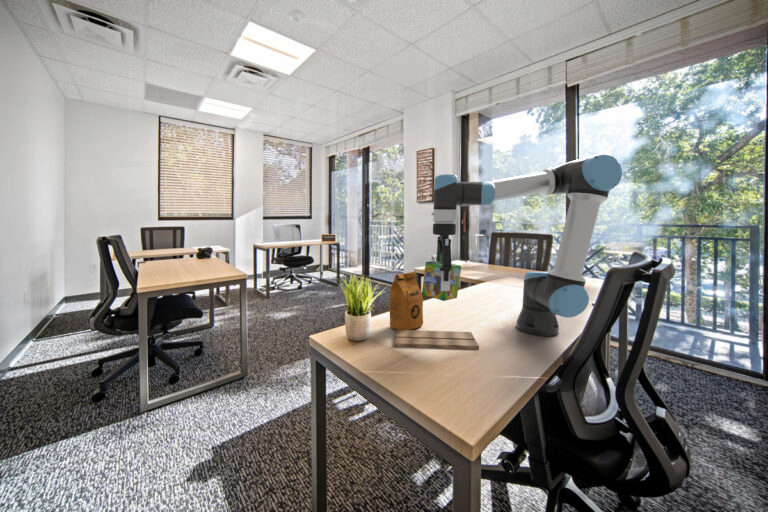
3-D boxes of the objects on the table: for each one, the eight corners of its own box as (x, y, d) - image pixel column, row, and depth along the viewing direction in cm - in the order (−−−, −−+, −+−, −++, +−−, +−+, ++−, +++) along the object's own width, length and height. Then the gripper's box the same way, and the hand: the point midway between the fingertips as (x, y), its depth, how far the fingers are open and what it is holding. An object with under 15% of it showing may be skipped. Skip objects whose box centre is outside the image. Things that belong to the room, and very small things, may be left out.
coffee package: (427, 327, 124) (427, 272, 122) (403, 335, 117) (403, 276, 114) (409, 322, 132) (409, 269, 130) (386, 328, 124) (385, 272, 122)
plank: (470, 335, 117) (471, 332, 117) (474, 342, 111) (474, 338, 111) (394, 332, 118) (395, 329, 118) (394, 339, 112) (394, 336, 112)
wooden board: (470, 336, 117) (471, 332, 117) (479, 350, 105) (479, 346, 105) (394, 334, 118) (395, 330, 118) (394, 347, 106) (394, 343, 106)
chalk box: (443, 302, 102) (449, 256, 100) (420, 294, 108) (426, 252, 106) (458, 298, 109) (464, 255, 107) (435, 291, 115) (441, 251, 113)
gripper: (429, 222, 118) (428, 278, 120) (437, 223, 93) (435, 294, 96) (450, 222, 117) (448, 279, 120) (463, 223, 93) (460, 295, 96)
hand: (442, 286), depth 108 cm, fingers closed on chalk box, 12 cm apart
